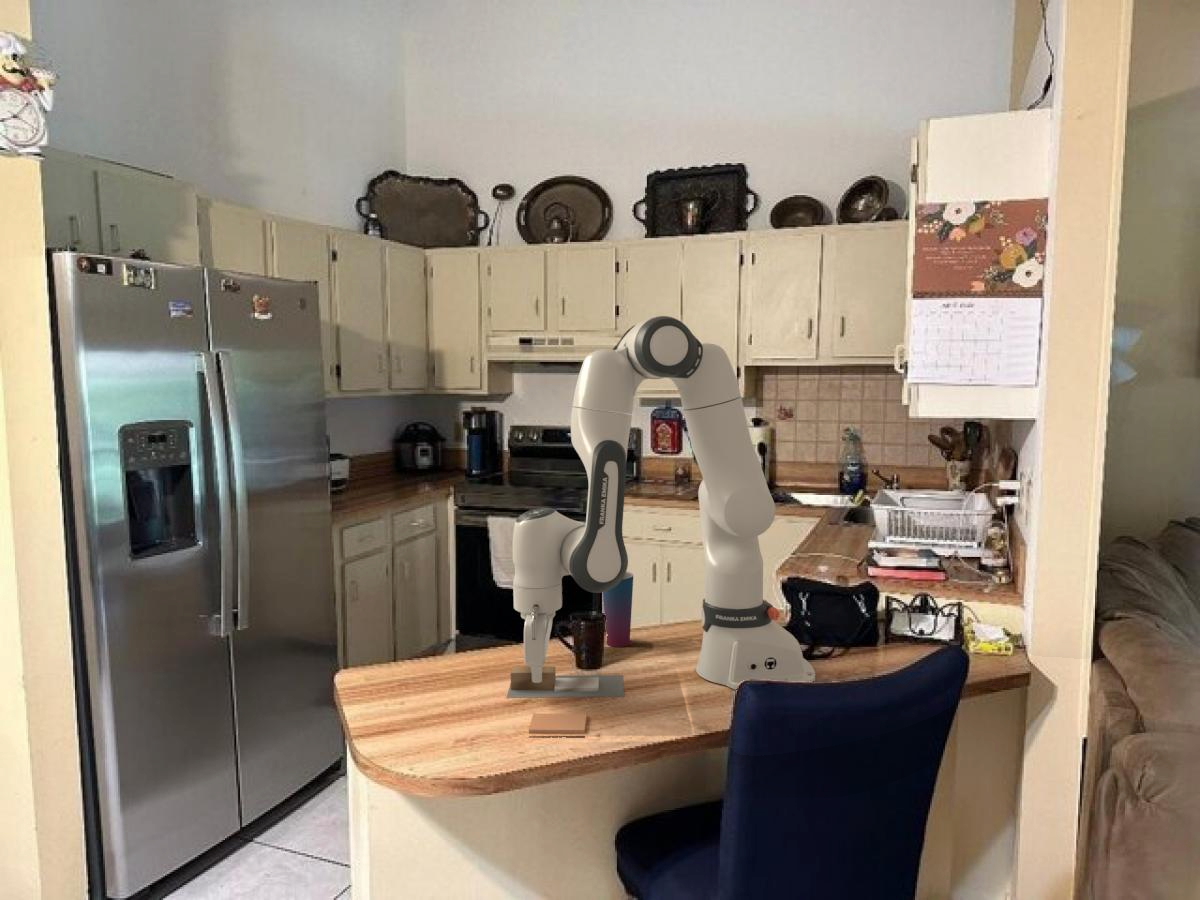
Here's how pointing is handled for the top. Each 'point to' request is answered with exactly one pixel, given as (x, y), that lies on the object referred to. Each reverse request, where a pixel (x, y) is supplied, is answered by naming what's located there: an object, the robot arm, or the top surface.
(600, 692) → the rest mat
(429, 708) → the top surface
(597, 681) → the turner
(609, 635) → the cup
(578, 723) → the tile
